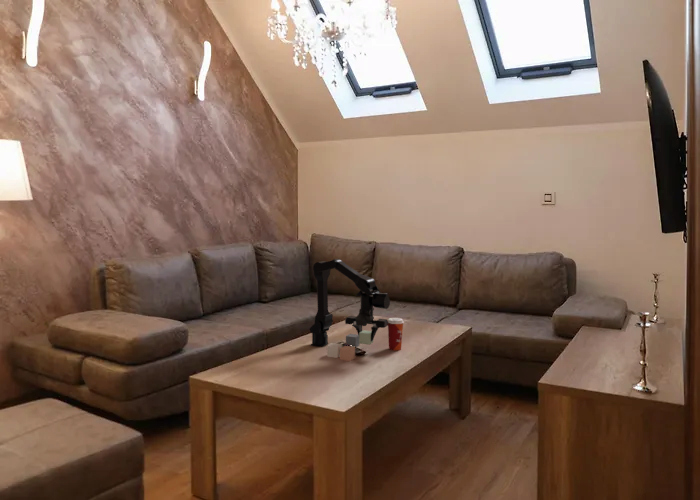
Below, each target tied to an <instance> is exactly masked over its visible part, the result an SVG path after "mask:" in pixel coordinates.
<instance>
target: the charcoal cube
mask: <svg viewBox="0 0 700 500" xmlns="http://www.w3.org/2000/svg"><path fill="white" fill-rule="evenodd" d="M346 343H347V344H349V345H352V346H355V347H356V348H357V347H359V346H360V345H361V344H359V335H358V334H354V333H349V334H347V335H346V336H345V344H346Z"/></svg>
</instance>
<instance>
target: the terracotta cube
mask: <svg viewBox="0 0 700 500" xmlns="http://www.w3.org/2000/svg"><path fill="white" fill-rule="evenodd" d="M354 359H356V348H355V347H351V346H346V345H344V346H343V345H342V348H340V357H339V360H340V361H347V362H352V361H353V360H354Z"/></svg>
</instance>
